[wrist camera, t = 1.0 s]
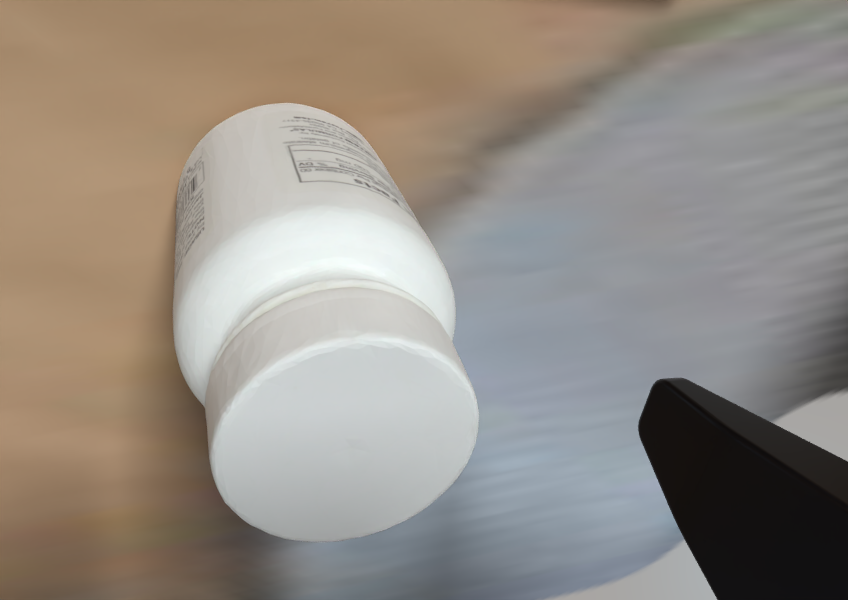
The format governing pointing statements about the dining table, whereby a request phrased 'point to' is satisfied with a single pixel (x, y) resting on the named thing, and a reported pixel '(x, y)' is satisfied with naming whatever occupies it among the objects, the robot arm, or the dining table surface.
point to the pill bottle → (315, 329)
